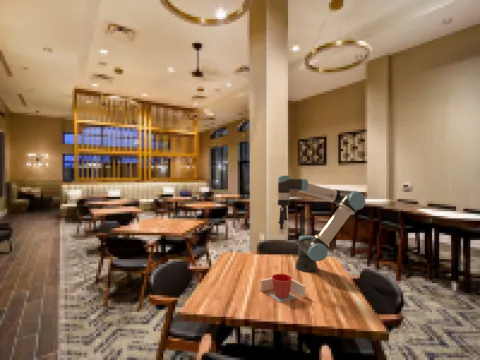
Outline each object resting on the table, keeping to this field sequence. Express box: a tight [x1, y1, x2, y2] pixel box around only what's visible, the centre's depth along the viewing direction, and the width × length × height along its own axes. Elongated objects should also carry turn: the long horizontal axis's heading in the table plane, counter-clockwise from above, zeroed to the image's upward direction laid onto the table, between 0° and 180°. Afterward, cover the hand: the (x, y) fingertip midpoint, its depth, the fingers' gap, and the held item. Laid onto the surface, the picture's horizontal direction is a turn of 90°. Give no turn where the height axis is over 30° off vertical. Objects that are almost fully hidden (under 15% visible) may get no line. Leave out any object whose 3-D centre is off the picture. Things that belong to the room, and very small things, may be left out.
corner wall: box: [259, 277, 306, 298], centre depth 144 cm, size 18×18×6 cm
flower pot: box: [271, 273, 293, 298], centre depth 141 cm, size 11×11×10 cm
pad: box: [265, 290, 298, 303], centre depth 141 cm, size 12×12×1 cm
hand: (283, 232), depth 170 cm, fingers open, 13 cm apart
